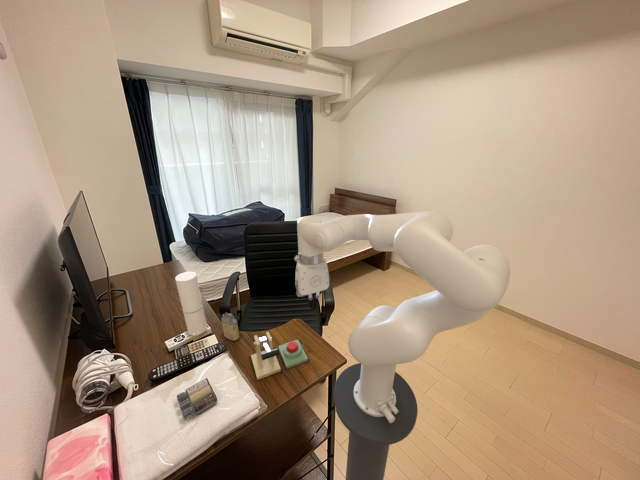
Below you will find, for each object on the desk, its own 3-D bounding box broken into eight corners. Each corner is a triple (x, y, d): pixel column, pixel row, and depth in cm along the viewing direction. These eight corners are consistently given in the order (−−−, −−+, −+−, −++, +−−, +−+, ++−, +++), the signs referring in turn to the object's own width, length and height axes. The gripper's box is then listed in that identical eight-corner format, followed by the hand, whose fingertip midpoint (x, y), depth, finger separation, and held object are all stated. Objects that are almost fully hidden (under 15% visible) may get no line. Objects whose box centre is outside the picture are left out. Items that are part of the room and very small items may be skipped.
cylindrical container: (208, 322, 107) (198, 270, 98) (204, 334, 101) (193, 280, 91) (190, 324, 106) (178, 272, 97) (185, 336, 100) (172, 282, 90)
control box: (308, 360, 89) (308, 354, 88) (286, 369, 86) (286, 362, 85) (298, 341, 97) (297, 335, 96) (278, 348, 94) (277, 342, 93)
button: (298, 350, 90) (298, 347, 89) (289, 354, 88) (289, 350, 88) (295, 343, 93) (295, 340, 92) (286, 347, 91) (285, 343, 91)
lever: (279, 356, 75) (278, 348, 75) (263, 362, 73) (261, 354, 73) (270, 341, 86) (269, 334, 86) (255, 346, 84) (254, 339, 84)
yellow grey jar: (241, 336, 100) (238, 315, 96) (234, 342, 97) (230, 321, 93) (228, 330, 103) (225, 310, 99) (221, 336, 100) (217, 315, 96)
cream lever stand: (281, 371, 85) (279, 344, 81) (257, 380, 82) (253, 352, 77) (272, 350, 93) (270, 324, 89) (251, 357, 90) (247, 331, 86)
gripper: (292, 267, 70) (295, 321, 77) (338, 256, 76) (338, 307, 83) (283, 257, 76) (287, 307, 83) (327, 248, 82) (327, 295, 89)
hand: (312, 307), depth 83 cm, fingers closed
